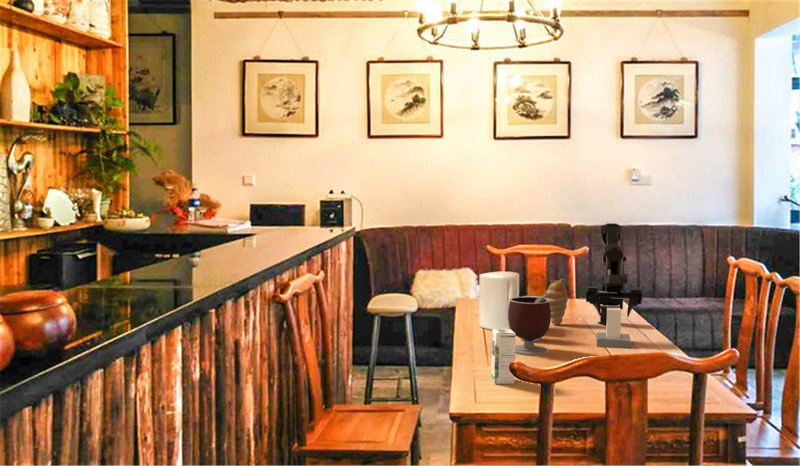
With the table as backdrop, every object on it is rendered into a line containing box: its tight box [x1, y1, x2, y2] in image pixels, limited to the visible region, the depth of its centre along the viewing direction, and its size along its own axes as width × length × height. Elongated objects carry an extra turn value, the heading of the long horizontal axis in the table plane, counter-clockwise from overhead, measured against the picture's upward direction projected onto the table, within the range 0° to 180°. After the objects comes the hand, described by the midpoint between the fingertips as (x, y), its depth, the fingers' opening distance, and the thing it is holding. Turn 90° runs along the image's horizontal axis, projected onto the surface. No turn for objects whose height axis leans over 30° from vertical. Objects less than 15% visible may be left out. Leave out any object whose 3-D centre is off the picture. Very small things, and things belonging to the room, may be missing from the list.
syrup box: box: [490, 329, 517, 385], centre depth 205 cm, size 6×6×14 cm
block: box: [605, 307, 622, 338], centre depth 251 cm, size 4×4×10 cm
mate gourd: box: [508, 294, 551, 357], centre depth 239 cm, size 16×14×20 cm
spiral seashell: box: [544, 278, 569, 326], centre depth 282 cm, size 9×8×18 cm
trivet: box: [595, 331, 632, 349], centre depth 251 cm, size 11×11×3 cm
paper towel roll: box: [478, 271, 520, 331], centre depth 274 cm, size 15×14×22 cm
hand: (613, 315), depth 249 cm, fingers open, 9 cm apart
